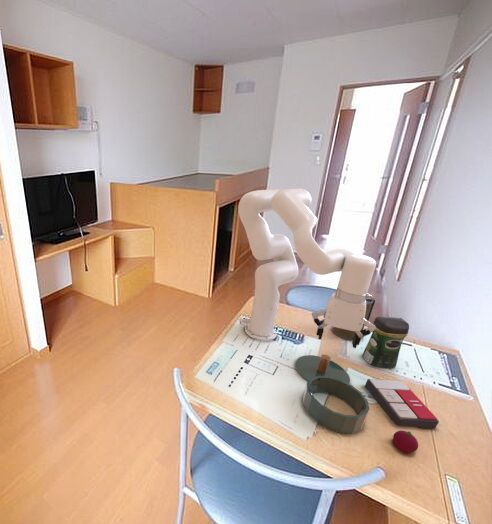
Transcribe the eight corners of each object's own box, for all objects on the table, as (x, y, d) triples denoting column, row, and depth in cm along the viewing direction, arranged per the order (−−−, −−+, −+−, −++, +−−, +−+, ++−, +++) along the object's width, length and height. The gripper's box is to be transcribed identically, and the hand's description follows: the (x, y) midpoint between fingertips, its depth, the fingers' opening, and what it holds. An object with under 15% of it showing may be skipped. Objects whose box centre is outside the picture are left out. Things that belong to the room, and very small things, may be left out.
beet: (417, 460, 78) (425, 444, 75) (392, 452, 80) (400, 435, 77) (411, 444, 82) (419, 428, 80) (388, 436, 84) (395, 420, 82)
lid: (294, 381, 103) (298, 364, 100) (295, 352, 117) (299, 337, 114) (352, 398, 96) (358, 381, 93) (346, 366, 110) (351, 350, 107)
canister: (334, 337, 126) (346, 294, 118) (330, 324, 135) (342, 283, 127) (365, 343, 122) (380, 299, 115) (359, 329, 131) (372, 288, 123)
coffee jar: (385, 356, 115) (400, 314, 108) (398, 370, 108) (416, 326, 101) (357, 354, 116) (371, 312, 109) (369, 368, 109) (385, 324, 102)
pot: (302, 421, 88) (307, 404, 86) (302, 385, 101) (306, 369, 99) (366, 443, 82) (374, 426, 79) (358, 402, 95) (364, 386, 92)
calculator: (400, 417, 85) (367, 376, 99) (394, 428, 87) (363, 386, 100) (441, 420, 84) (402, 378, 98) (435, 430, 86) (398, 388, 100)
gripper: (382, 295, 92) (366, 342, 98) (317, 284, 99) (306, 328, 106) (388, 307, 86) (370, 356, 92) (318, 293, 93) (306, 340, 99)
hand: (336, 341), depth 99 cm, fingers open, 9 cm apart
